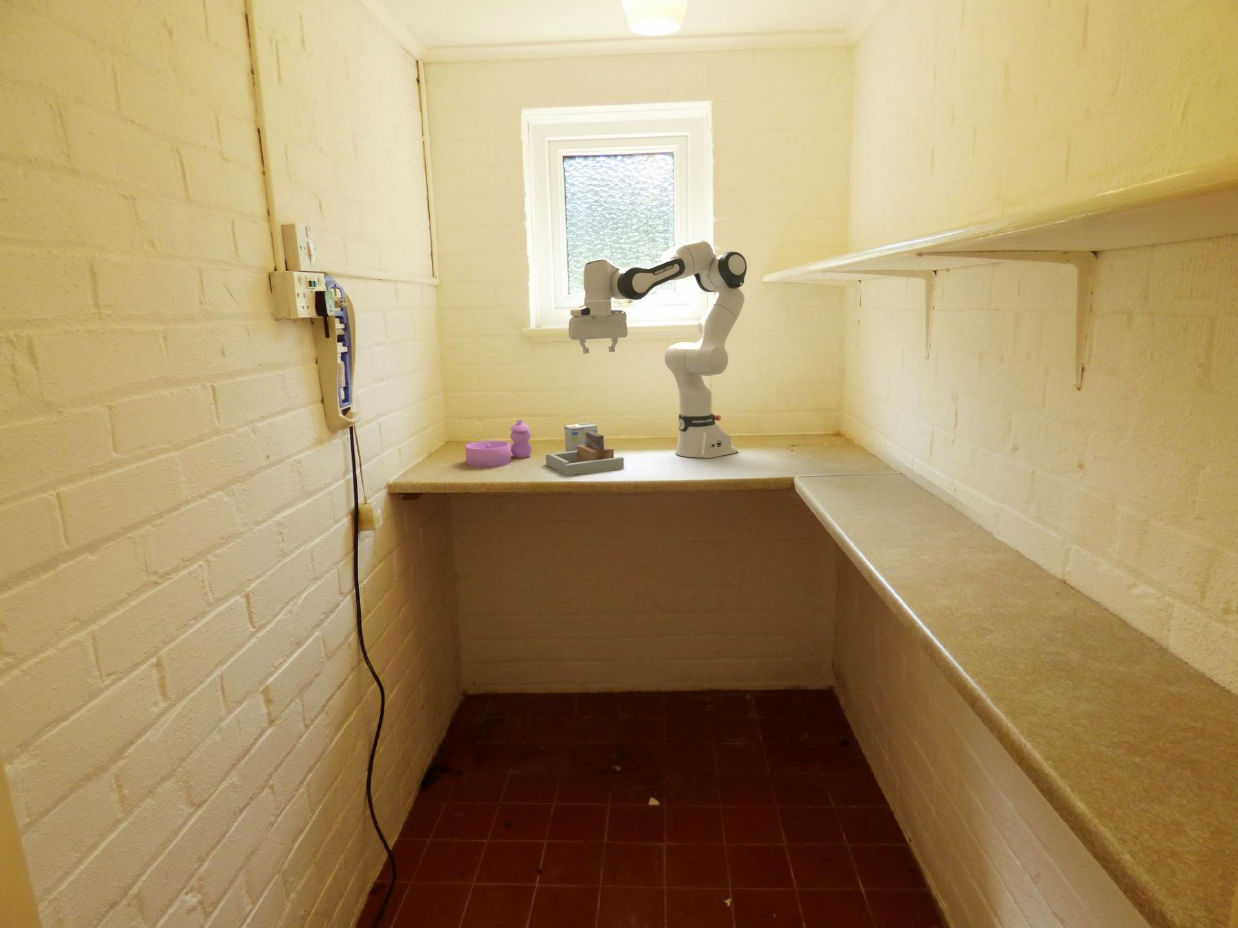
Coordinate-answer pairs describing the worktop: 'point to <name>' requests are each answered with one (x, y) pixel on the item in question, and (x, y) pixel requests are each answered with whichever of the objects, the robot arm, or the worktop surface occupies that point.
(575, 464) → the bay
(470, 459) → the container set
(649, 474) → the worktop surface
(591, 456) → the brown and grey block
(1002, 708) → the worktop surface
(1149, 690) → the worktop surface
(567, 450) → the light bulb box
